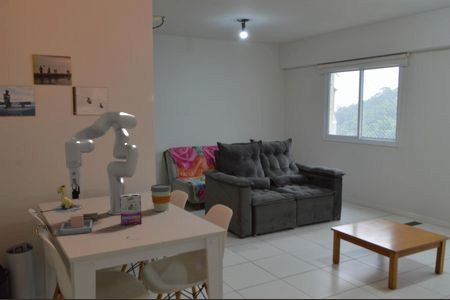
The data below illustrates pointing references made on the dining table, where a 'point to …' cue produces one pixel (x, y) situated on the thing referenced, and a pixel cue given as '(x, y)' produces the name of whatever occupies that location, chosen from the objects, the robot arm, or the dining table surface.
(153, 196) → the reusable coffee cup
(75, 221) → the tan rectangular block
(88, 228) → the tray
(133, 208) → the candy bar box
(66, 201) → the stuffed giraffe
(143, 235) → the dining table surface
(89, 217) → the brown piece
